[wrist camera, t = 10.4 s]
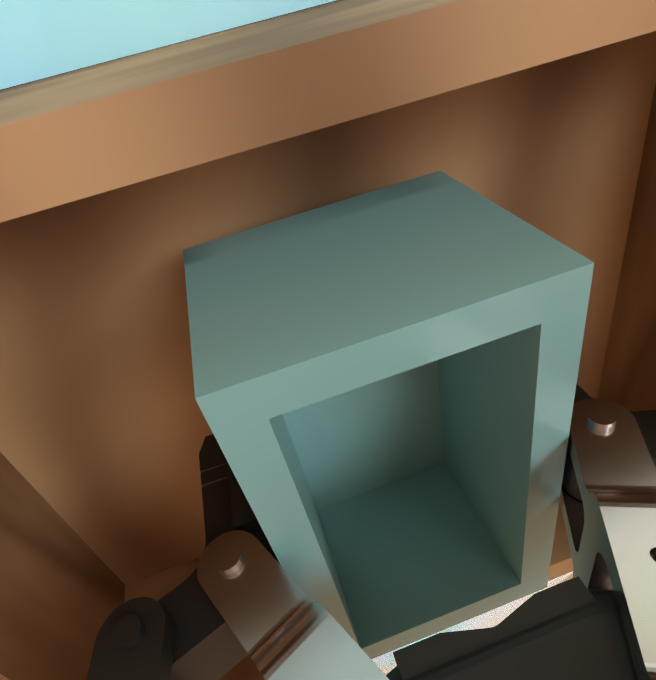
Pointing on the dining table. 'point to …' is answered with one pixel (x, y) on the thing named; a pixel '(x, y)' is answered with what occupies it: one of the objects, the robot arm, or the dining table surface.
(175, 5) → the dining table surface
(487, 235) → the teal tote
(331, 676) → the robot arm
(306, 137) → the walnut crate
